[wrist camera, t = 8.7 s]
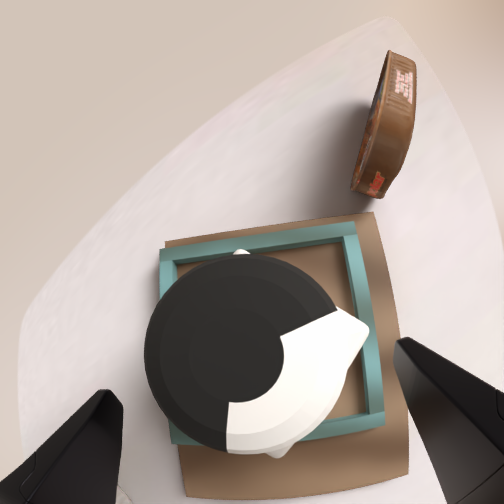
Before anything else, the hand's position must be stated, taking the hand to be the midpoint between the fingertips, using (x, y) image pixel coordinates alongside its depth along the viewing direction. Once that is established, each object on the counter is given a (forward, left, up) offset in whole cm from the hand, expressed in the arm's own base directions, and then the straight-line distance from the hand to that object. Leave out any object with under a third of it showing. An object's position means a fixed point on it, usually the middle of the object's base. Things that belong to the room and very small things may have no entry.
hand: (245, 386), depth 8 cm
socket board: (0, -1, -12) cm, 12 cm away
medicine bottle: (+1, 0, -11) cm, 11 cm away
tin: (+17, -12, -12) cm, 24 cm away
